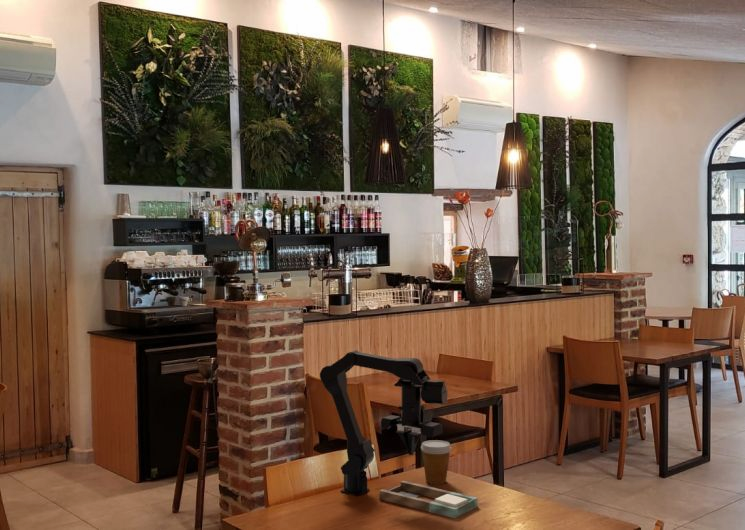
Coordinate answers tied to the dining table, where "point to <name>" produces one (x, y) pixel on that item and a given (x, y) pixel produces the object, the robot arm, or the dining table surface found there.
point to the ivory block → (451, 500)
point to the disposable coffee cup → (436, 460)
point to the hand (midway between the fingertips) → (411, 454)
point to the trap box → (410, 492)
